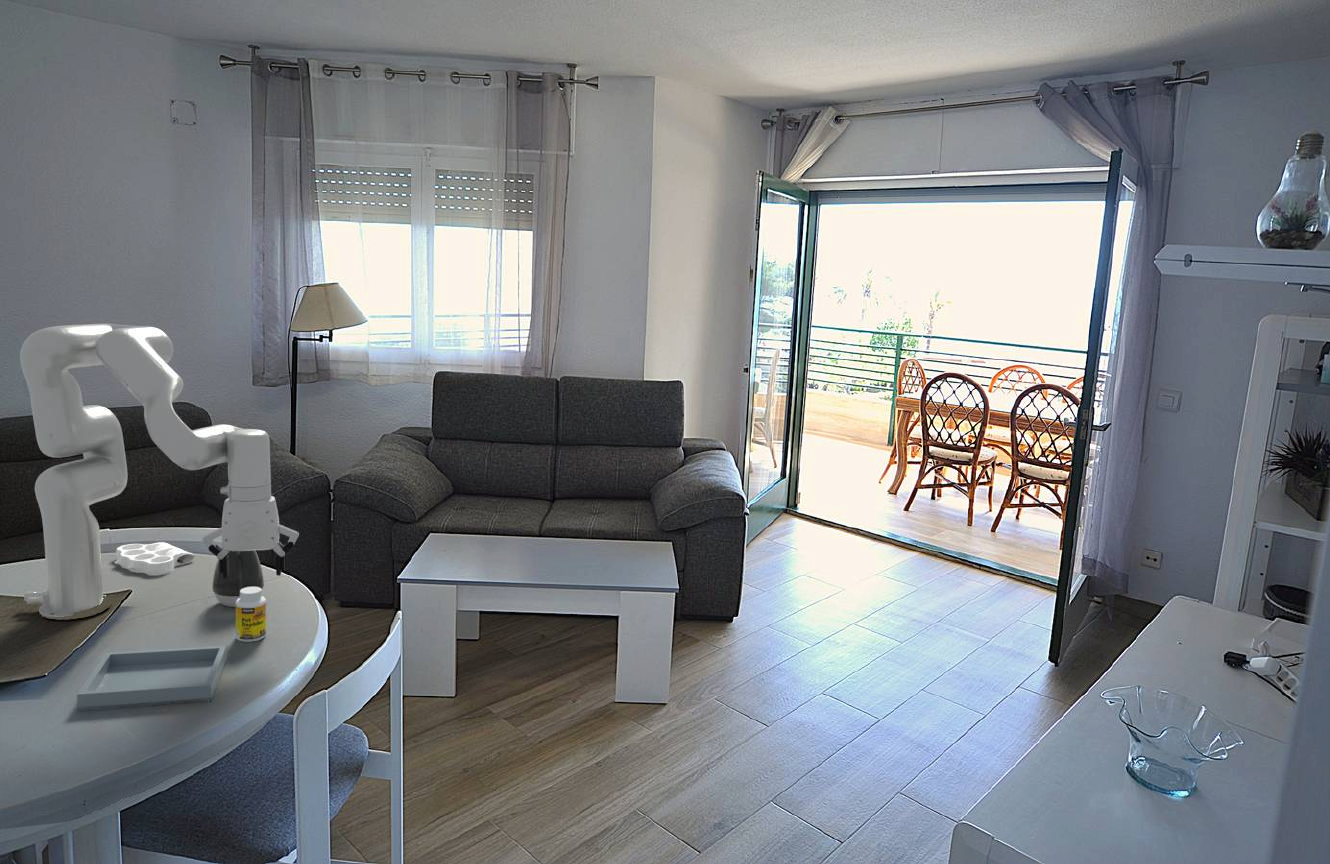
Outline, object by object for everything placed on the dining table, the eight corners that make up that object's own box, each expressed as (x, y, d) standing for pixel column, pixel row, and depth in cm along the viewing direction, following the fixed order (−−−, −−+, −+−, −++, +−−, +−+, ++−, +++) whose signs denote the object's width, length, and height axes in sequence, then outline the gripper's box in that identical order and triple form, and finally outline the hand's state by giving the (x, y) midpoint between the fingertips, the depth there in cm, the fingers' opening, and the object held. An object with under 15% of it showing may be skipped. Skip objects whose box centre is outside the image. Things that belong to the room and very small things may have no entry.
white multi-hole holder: (202, 566, 212) (140, 582, 199) (161, 549, 221) (100, 563, 208) (202, 553, 211) (140, 568, 199) (161, 536, 220) (99, 550, 208)
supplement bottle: (238, 645, 171) (237, 596, 170) (234, 634, 176) (233, 587, 174) (268, 640, 174) (268, 592, 173) (263, 629, 179) (263, 583, 177)
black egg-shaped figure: (251, 590, 198) (250, 527, 196) (272, 604, 192) (271, 539, 189) (204, 600, 191) (203, 535, 188) (224, 615, 184) (223, 548, 181)
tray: (78, 710, 144) (77, 694, 143) (106, 667, 159) (105, 652, 158) (211, 700, 150) (211, 685, 149) (226, 660, 165) (226, 645, 164)
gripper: (197, 498, 163) (201, 584, 166) (295, 495, 169) (298, 578, 172) (204, 488, 170) (208, 570, 173) (299, 486, 176) (301, 566, 179)
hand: (253, 574), depth 173 cm, fingers open, 9 cm apart
